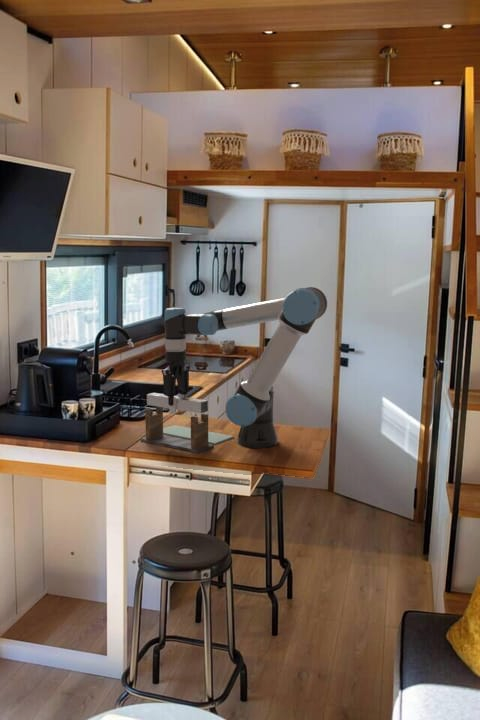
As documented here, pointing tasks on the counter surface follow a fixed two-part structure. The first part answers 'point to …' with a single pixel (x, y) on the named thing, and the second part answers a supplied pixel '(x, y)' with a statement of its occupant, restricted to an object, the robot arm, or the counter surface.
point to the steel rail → (178, 403)
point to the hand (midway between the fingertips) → (177, 412)
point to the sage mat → (186, 433)
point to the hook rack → (194, 445)
